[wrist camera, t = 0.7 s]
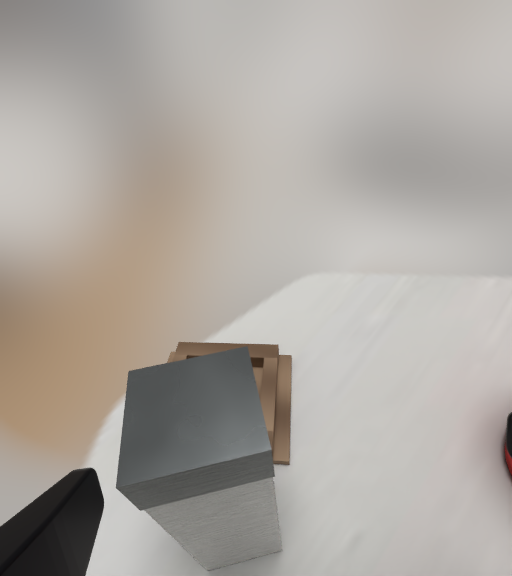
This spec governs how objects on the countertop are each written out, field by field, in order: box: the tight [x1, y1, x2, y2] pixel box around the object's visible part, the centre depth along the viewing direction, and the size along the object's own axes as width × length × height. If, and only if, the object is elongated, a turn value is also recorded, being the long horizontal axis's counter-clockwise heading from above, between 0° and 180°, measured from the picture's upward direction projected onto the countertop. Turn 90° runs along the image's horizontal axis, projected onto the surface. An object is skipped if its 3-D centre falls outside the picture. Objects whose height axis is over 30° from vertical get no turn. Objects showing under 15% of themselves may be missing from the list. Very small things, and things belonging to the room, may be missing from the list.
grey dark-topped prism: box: [116, 346, 282, 571], centre depth 14 cm, size 4×4×13 cm
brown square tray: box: [167, 342, 292, 465], centre depth 24 cm, size 8×10×2 cm
